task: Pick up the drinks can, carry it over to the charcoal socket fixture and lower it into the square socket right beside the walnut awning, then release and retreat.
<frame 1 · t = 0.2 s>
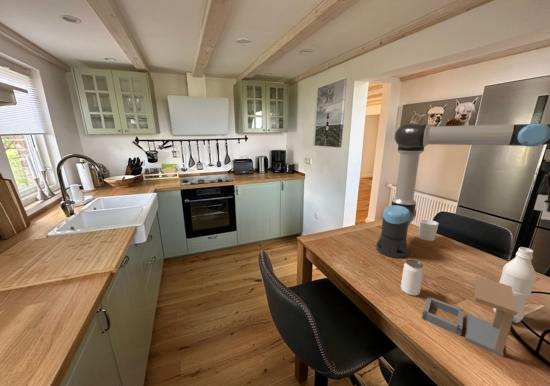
hand: (542, 214, 88), 28 cm above the table, fingers open, 13 cm apart
socket fixture: (442, 317, 74), on the table
mug: (425, 238, 131), on the table
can: (409, 291, 87), on the table
water bottle: (505, 317, 74), on the table
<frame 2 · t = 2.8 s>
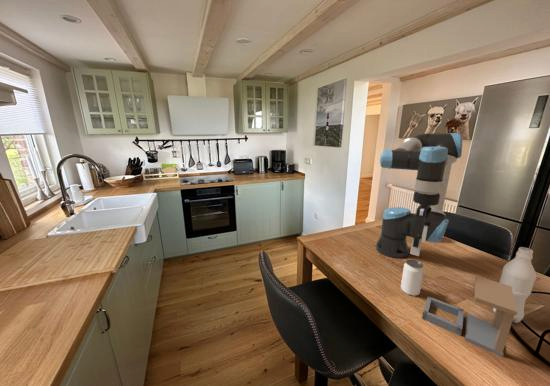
hand: (417, 247, 82), 19 cm above the table, fingers open, 13 cm apart
nothing on the table moved.
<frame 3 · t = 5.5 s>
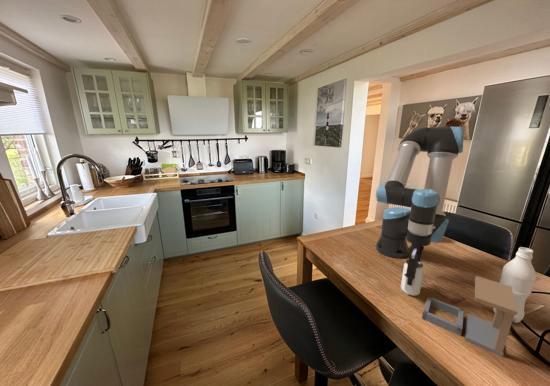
hand: (410, 286, 86), 2 cm above the table, fingers closed on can, 6 cm apart
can: (409, 291, 87), on the table, touching gripper
everything else where it was.
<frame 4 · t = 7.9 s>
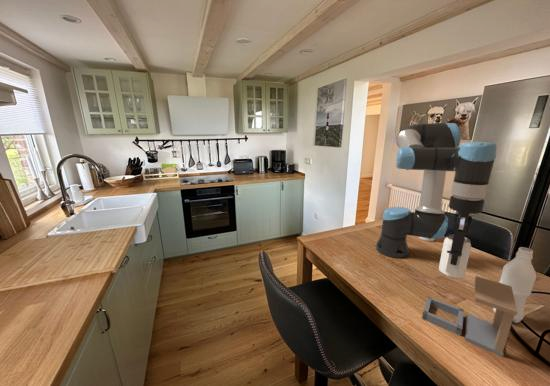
hand: (452, 267, 69), 19 cm above the table, fingers closed on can, 6 cm apart
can: (450, 273, 70), point 17 cm above the table, touching gripper
everything else where it was.
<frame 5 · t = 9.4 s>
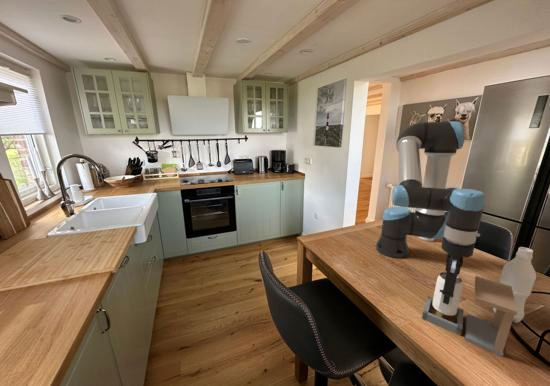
hand: (445, 304, 73), 5 cm above the table, fingers closed on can, 6 cm apart
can: (443, 309, 73), point 3 cm above the table, touching gripper
everything else where it was.
when the fingers open (3 cm above the table, at t = 10.6 s): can drops 1 cm, resting in socket fixture.
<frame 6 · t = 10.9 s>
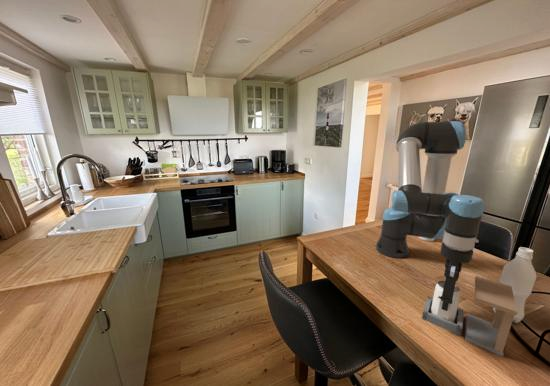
hand: (444, 306, 73), 4 cm above the table, fingers open, 11 cm apart
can: (441, 317, 74), resting in socket fixture
everything else where it was.
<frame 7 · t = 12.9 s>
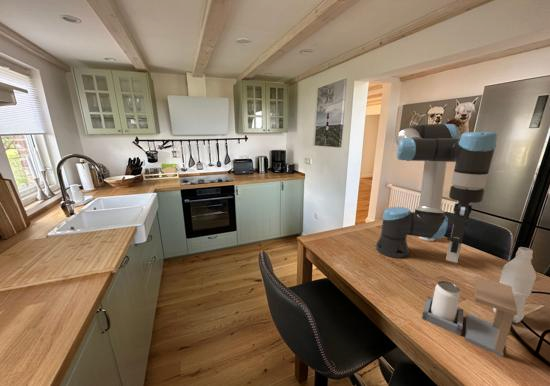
hand: (453, 251, 70), 23 cm above the table, fingers open, 13 cm apart
nothing on the table moved.
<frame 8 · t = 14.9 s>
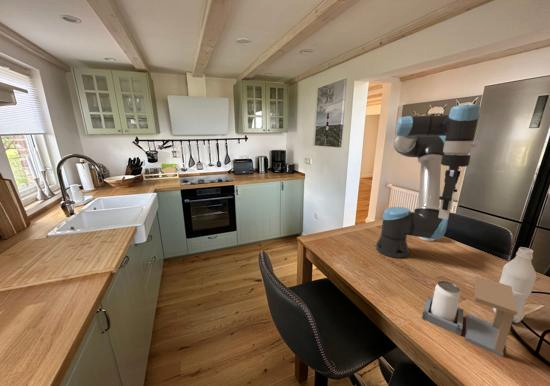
hand: (445, 213, 80), 32 cm above the table, fingers open, 13 cm apart
nothing on the table moved.
at the end: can 0.1 cm off-centre on the socket fixture, point 0.0 cm above the socket fixture's base; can tilted 0°; the gripper is holding nothing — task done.
